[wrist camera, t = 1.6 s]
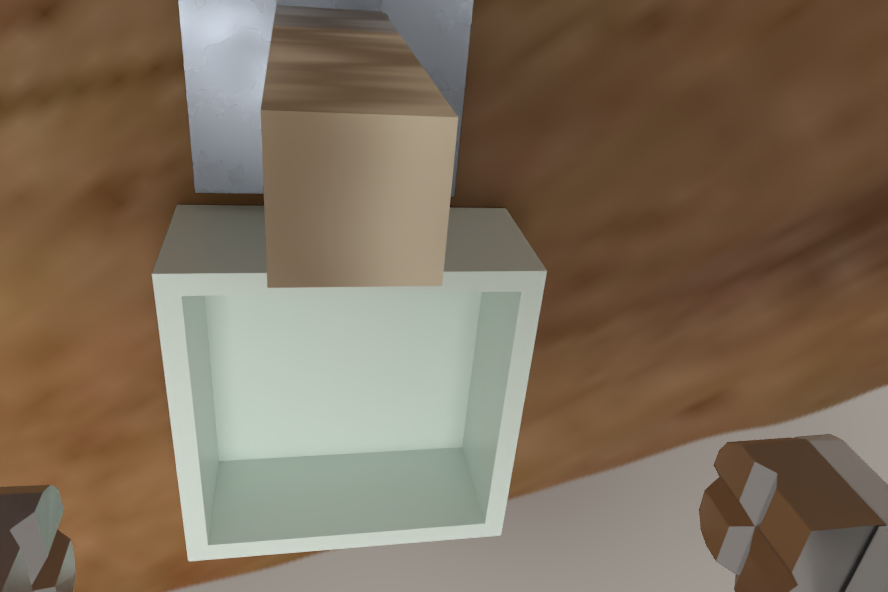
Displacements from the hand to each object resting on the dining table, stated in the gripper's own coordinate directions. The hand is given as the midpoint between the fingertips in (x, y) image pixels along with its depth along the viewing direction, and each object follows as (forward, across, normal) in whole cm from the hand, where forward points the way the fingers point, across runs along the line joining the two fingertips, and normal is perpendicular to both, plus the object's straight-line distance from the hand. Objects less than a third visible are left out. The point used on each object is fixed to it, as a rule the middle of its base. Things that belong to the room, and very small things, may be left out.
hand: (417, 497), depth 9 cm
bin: (+26, -1, +15) cm, 30 cm away
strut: (+26, 0, 0) cm, 26 cm away
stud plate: (+26, 0, 0) cm, 27 cm away
